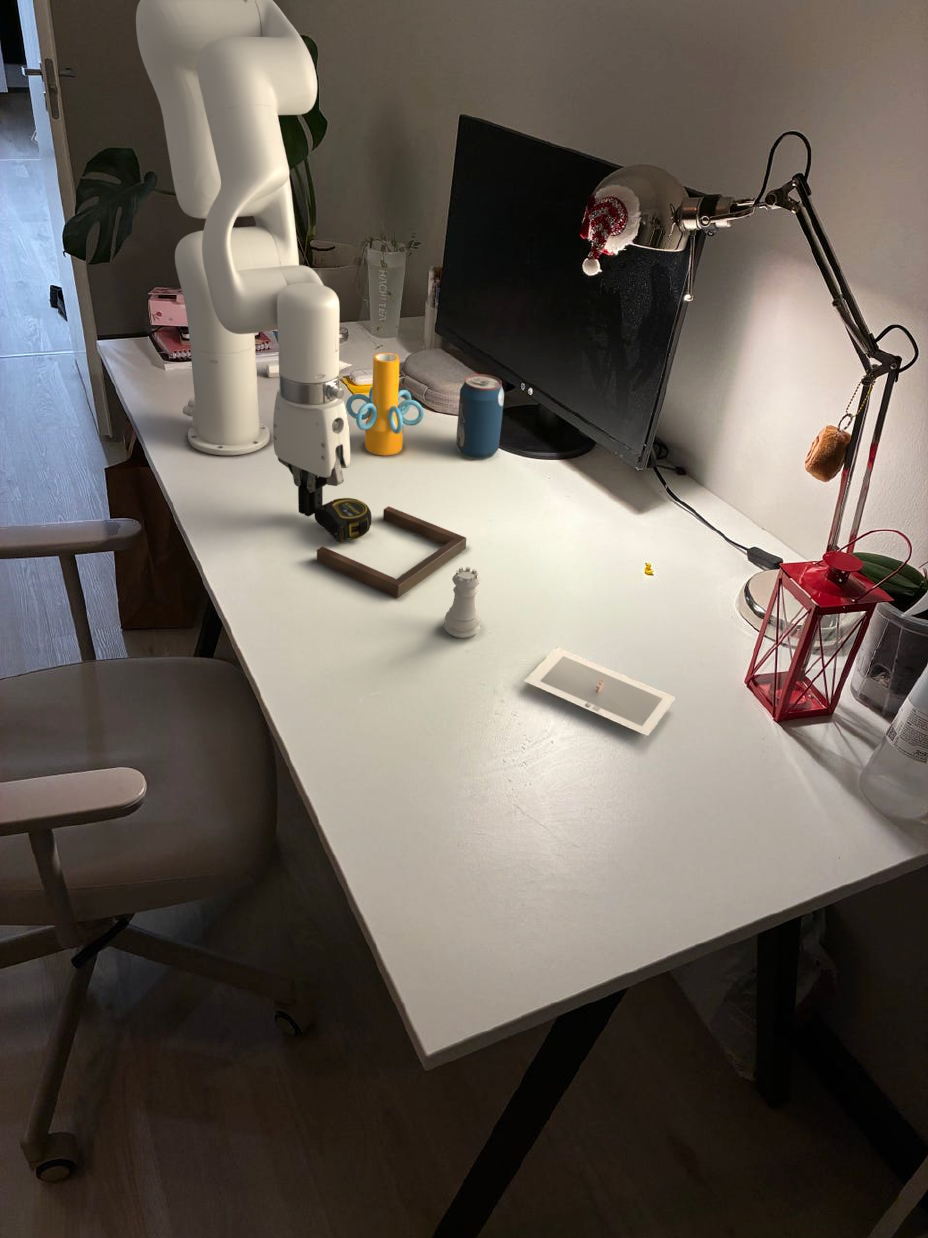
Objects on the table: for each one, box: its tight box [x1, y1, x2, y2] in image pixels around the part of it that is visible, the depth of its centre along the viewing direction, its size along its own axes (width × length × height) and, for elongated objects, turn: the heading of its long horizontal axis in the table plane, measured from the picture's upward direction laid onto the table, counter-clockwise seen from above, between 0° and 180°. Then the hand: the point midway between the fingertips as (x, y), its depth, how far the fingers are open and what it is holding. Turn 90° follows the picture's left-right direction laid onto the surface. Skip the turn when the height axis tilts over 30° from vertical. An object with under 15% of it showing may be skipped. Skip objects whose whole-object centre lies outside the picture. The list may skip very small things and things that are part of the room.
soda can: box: [455, 373, 505, 461], centre depth 153 cm, size 7×7×12 cm
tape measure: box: [313, 497, 373, 543], centre depth 132 cm, size 7×7×4 cm
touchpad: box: [523, 646, 677, 737], centre depth 107 cm, size 8×15×2 cm, turn 58°
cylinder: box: [345, 352, 425, 456], centre depth 150 cm, size 12×10×15 cm
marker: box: [266, 359, 353, 378], centre depth 177 cm, size 3×2×16 cm
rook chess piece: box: [443, 566, 481, 639], centre depth 114 cm, size 4×4×8 cm
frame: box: [316, 505, 467, 598], centre depth 128 cm, size 13×15×2 cm
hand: (310, 510), depth 134 cm, fingers closed
